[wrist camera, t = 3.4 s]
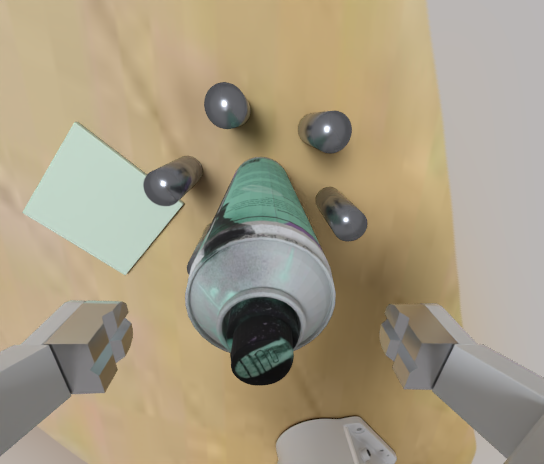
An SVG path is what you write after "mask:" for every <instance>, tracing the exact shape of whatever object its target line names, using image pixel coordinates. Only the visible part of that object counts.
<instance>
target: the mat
mask: <svg viewBox="0 0 544 464" xmlns="http://www.w3.org/2000/svg"><path fill="white" fill-rule="evenodd" d="M146 176H147V174H145V173H144V172H143V171H141V170H140V169H139V168H137V167H136V166H135V165H133V164H132V163H131V162H130V161H128V160H127V159H126V158H124V157H123V156H122V155H120V154H119V153H118V152H116V151H115V150H114V149H112V148H111V147H110V146H109V145H107V144H106V143H105V142H103V141H102V140H101V139H99V138H98V137H97V136H95V135H94V134H93V133H92V132H90V131H89V130H88V129H86V128H85V127H84V126H82V125H81V124H80V123H78V122H74V124H73V126H72V127H71V129H70V131H69V133H68V134H67V136H66V138H65V140H64V141H63V143H62V145H61V147H60V148H59V150H58V152H57V153H56V155H55V157H54V159H53V160H52V162H51V164H50V166H49V167H48V169H47V171H46V172H45V174H44V176H43V178H42V179H41V181H40V183H39V185H38V186H37V188H36V190H35V192H34V193H33V195H32V197H31V198H30V200H29V202H28V204H27V205H26V207H25V209H24V211H23V212H22V213H24V214H25V215H27V216H29V217H30V218H32V219H34V220H35V221H37V222H39V223H40V224H42V225H44V226H45V227H47V228H48V229H50V230H52V231H53V232H55V233H57V234H58V235H60V236H62V237H63V238H65V239H67V240H68V241H70V242H71V243H73V244H75V245H76V246H78V247H80V248H81V249H83V250H85V251H86V252H88V253H89V254H91V255H93V256H94V257H96V258H98V259H99V260H101V261H103V262H104V263H106V264H108V265H109V266H111V267H112V268H114V269H116V270H117V271H119V272H121V273H122V274H124V275H126V274H127V273H128V271H129V270H130V269H131V268H132V266H133V265H134V264H135V263H136V262H137V260H138V259H139V258H140V257H141V255H142V254H143V253H144V252H145V251H146V249H147V248H148V247H149V246H150V244H151V243H152V242H153V241H154V239H155V238H156V237H157V236H158V235H159V233H160V232H161V231H162V230H163V228H164V227H165V226H166V225H167V224H168V222H169V221H170V220H171V219H172V217H173V216H174V215H175V214H176V212H177V211H178V210H179V209H180V208H181V206H182V205H183V204H184V203H183V202H182V201H181V200H179V201H178V202H177V203H175V204H174V205H171V206H160V205H157V204H155V203H153V202H152V201H151V200H150V199H149V198H148V197H147V196H146V194H145V191H144V187H143V183H144V179H145V177H146Z"/></svg>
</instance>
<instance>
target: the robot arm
mask: <svg viewBox="0 0 544 464" xmlns="http://www.w3.org/2000/svg"><path fill="white" fill-rule="evenodd" d="M127 314H128V308H127V305H126V303H124V302H117V301H75V300H71V301H68V302H65V303H64V304H63V305H62V306H61V307H60V308H59V309H58V310H56V311H55V312H54V313H53V314H52V315H51V316H50V317H49V318H48V319H47V320H46V321H45V322H44V323H43V324H42V325H41V326H40V327H39V328H38V329H36V330H35V331H34V332H33V333H32V334H31V335H30V336H29V337H28V338H27V339H26V340H25V341H24V342H23V343H22V344H21V345H13V346H11V347H9V348H7V349H5V350H3V351H1V352H0V456H1V455H2V454H3V453H5V452H6V451H7V450H8V449H9V448H11V447H12V446H13V445H14V444H15V443H16V442H18V441H19V440H20V439H21V438H22V437H23V436H25V435H26V434H27V433H28V432H29V431H31V430H32V429H33V428H34V427H35V426H37V425H38V424H39V423H40V422H41V421H42V420H44V419H45V418H46V417H47V416H48V415H50V414H51V413H52V412H53V411H54V410H55V409H57V408H58V407H59V406H60V405H61V404H62V403H64V402H65V401H66V400H67V399H68V398H70V397H71V394H87V393H105V392H106V390H107V388H108V386H109V384H110V383H111V381H112V379H113V377H114V376H115V374H116V372H117V370H118V369H117V365H116V363H117V362H118V361H119V360H121V359H122V358H123V357H125V356H126V354H127V352H128V350H129V348H130V346H131V342H132V338H133V328H132V324H131V323H130V322H129V321H128V320H127V319H126V318H125V317H126V315H127ZM385 315H386V317H387V320H386V321H384V322H383V323H382V324H381V327H380V331H379V335H380V343H381V346H382V349H383V351H384V353H385V355H386V356H387V357H389V358H390V359H391V360H393V361H394V363H393V367H392V368H393V370H394V372H395V374H396V376H397V378H398V380H399V382H400V383H401V385H402V387H403V389H426V390H432V391H433V392H434V393H435V394H436V395H437V396H438V397H439V398H440V399H441V400H442V401H444V402H445V403H446V404H447V405H448V406H449V407H450V408H451V409H452V410H454V411H455V412H456V413H457V414H458V415H459V416H460V417H461V418H462V419H464V420H465V421H466V422H467V423H468V424H469V425H470V426H471V427H472V428H473V429H475V430H476V431H477V432H478V433H479V434H480V435H481V436H482V437H483V438H485V439H486V440H487V441H488V442H489V443H490V444H491V445H492V446H494V447H495V448H496V449H497V450H498V451H499V452H500V453H501V454H503V455H504V456H505V457H506V458H507V460H506V461H505V462H504V464H544V377H542V376H540V375H538V374H536V373H534V372H533V371H531V370H529V369H527V368H525V367H524V366H522V365H520V364H518V363H516V362H514V361H513V360H511V359H509V358H507V357H505V356H503V355H502V354H500V353H498V352H496V351H494V350H493V349H491V348H489V347H487V346H485V345H484V344H477V343H476V342H475V341H474V340H473V339H472V337H470V335H469V334H468V333H467V332H466V331H465V330H464V329H463V328H462V327H461V326H460V325H459V324H458V323H457V322H456V321H455V320H454V319H453V318H452V317H451V316H450V315H449V313H448V312H447V311H446V310H445V309H444V308H443V307H442V306H440V305H438V304H436V303H429V304H389V305H388V306H387V307H386V310H385ZM276 451H277V455H278V459H279V460H278V463H277V464H394V463H395V462H396V460H397V457H396V454H395V452H394V451H393V450H392V449H391V448H390V447H389V446H388V445H387V444H386V443H385V442H384V441H383V440H382V439H381V438H380V437H379V436H378V435H377V434H376V433H375V432H374V431H373V430H372V429H371V428H370V427H369V426H368V425H367V424H366V423H365V422H364V421H363V420H362V419H361V418H360V417H357V416H354V417H347V418H343V419H316V420H310V421H306V422H302V423H300V424H297V425H295V426H293V427H291V428H289V429H288V430H286V431H285V432H284V433H283V434H282V435H281V436H280V437H279V439H278V440H277V443H276Z"/></svg>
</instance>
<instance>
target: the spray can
mask: <svg viewBox="0 0 544 464" xmlns="http://www.w3.org/2000/svg"><path fill="white" fill-rule="evenodd" d="M335 294H336V292H335V287H334V283H333V278H332V273H331V269H330V266H329V264H328V261H327V259H326V257H325V255H324V253H323V251H322V249H321V246H320V244H319V242H318V240H317V238H316V236H315V234H314V232H313V229H312V227H311V225H310V223H309V221H308V219H307V217H306V214H305V212H304V210H303V208H302V206H301V204H300V202H299V200H298V197H297V195H296V193H295V191H294V189H293V187H292V185H291V182H290V180H289V178H288V176H287V174H286V172H285V170H284V169H283V168H282V166H281V165H280V164H278V163H277V162H276V161H274V160H272V159H269V158H266V157H255V158H252V159H249V160H247V161H245V162H244V163H243V164H242V165H241V166H240V167H239V168H238V169H237V171H236V173H235V175H234V177H233V179H232V181H231V183H230V185H229V187H228V190H227V192H226V194H225V196H224V198H223V200H222V202H221V205H220V207H219V209H218V211H217V213H216V215H215V217H214V219H213V222H212V224H211V226H210V228H209V230H208V232H207V234H206V237H205V239H204V241H203V243H202V245H201V247H200V249H199V251H198V254H197V256H196V258H195V260H194V262H193V264H192V266H191V270H190V274H189V278H188V284H187V288H186V293H185V301H186V309H187V312H188V316H189V318H190V320H191V322H192V324H193V326H194V327H195V329H196V330H197V331H198V332H199V333H200V335H201V336H202V337H203V338H205V339H206V340H207V341H208V342H210V343H211V344H212V345H214V346H216V347H218V348H220V349H221V350H223V351H226V352H229V353H230V357H231V368H232V371H233V373H234V375H235V376H236V377H237V378H238V379H240V380H241V381H243V382H245V383H247V384H250V385H268V384H272V383H275V382H277V381H280V380H281V379H282V378H283V377H285V375H286V374H287V373H288V372H289V370H290V368H291V366H292V363H293V357H294V356H293V351H295V350H297V349H299V348H301V347H303V346H305V345H306V344H308V343H310V342H311V341H312V340H313V339H314V338H316V337H317V336H318V335H319V334H320V333H321V332H322V330H323V329H324V328H325V327H326V326H327V324H328V322H329V320H330V318H331V316H332V313H333V310H334V306H335Z"/></svg>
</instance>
